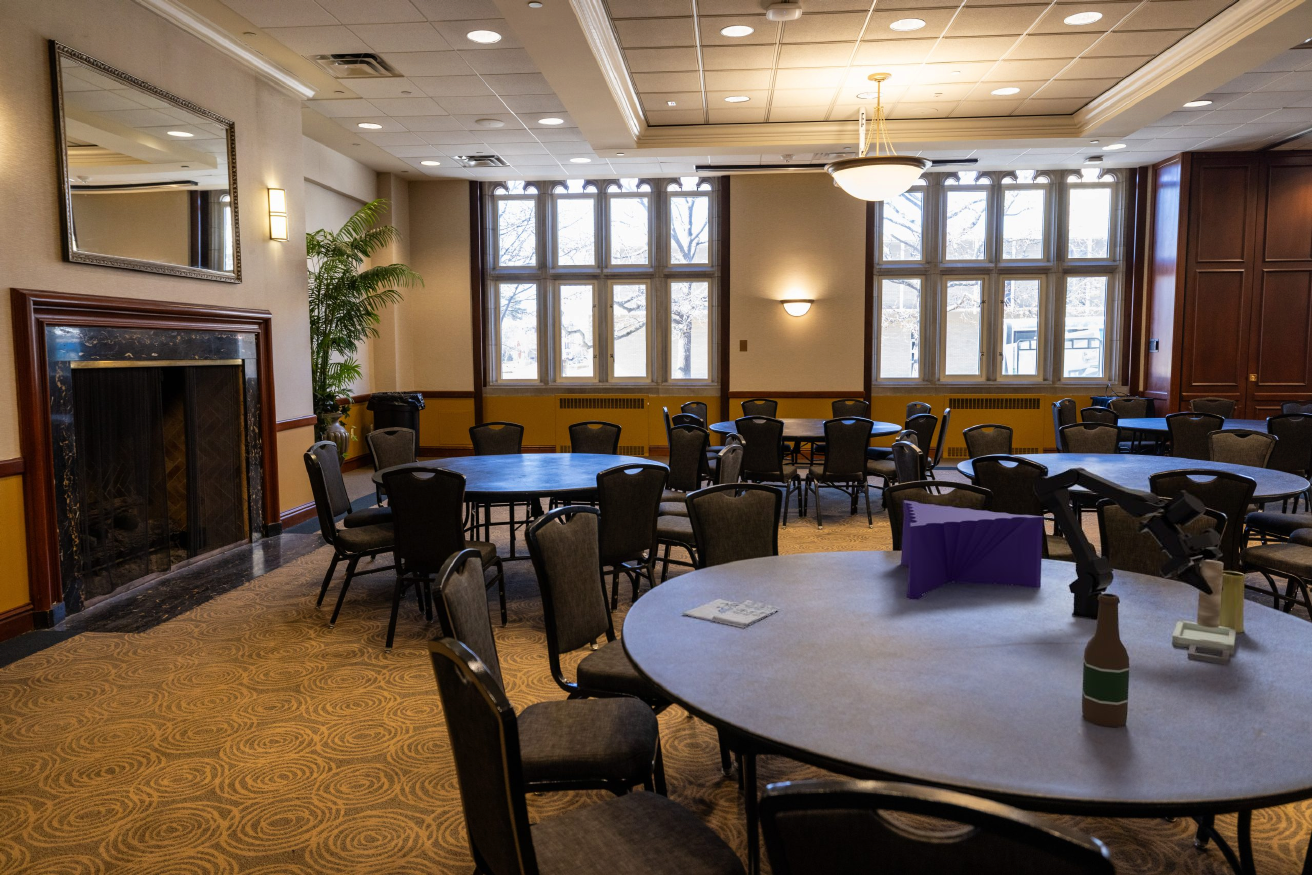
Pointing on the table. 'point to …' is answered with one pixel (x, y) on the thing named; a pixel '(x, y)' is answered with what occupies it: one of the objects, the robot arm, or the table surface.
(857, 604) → the table surface
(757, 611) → the white square relief plate
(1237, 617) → the vase
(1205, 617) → the dowel
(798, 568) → the table surface
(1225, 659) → the holder
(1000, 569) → the purple jagged triangular block
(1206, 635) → the tray
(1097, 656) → the beer bottle
